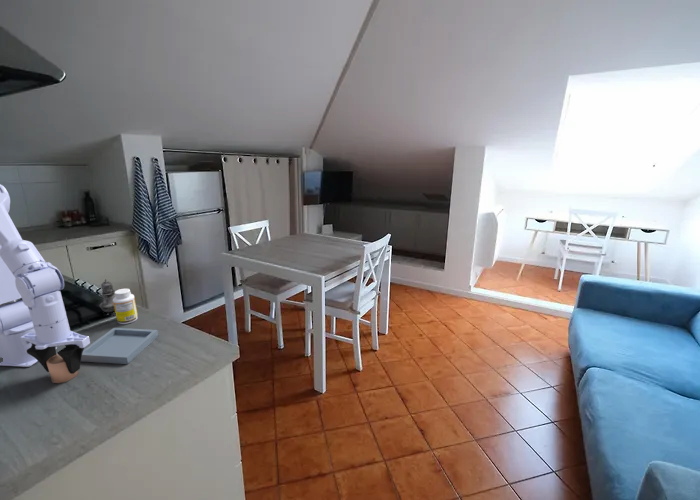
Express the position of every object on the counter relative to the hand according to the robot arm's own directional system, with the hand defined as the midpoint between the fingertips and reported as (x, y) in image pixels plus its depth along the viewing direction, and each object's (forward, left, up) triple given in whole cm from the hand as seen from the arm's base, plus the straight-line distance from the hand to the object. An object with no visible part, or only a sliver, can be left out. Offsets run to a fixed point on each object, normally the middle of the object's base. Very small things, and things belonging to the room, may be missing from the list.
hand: (63, 370), depth 78 cm
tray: (+5, +12, -2) cm, 13 cm away
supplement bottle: (-3, +26, -2) cm, 26 cm away
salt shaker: (-11, +30, -2) cm, 32 cm away
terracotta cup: (0, 0, -2) cm, 2 cm away
